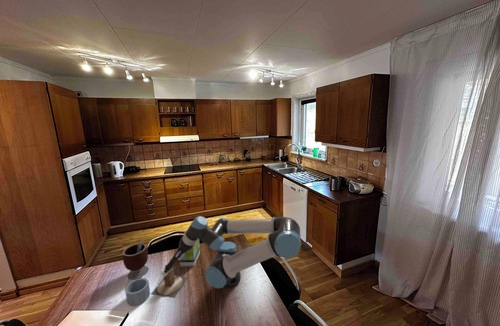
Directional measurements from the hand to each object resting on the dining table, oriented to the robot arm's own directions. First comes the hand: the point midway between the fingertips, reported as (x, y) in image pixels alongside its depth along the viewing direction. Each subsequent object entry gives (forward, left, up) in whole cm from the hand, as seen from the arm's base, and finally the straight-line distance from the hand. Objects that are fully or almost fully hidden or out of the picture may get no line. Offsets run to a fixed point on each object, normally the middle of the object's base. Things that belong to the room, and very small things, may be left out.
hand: (171, 266), depth 115 cm
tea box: (+3, -26, -16) cm, 31 cm away
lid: (+4, -2, -15) cm, 15 cm away
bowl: (+16, +9, -15) cm, 24 cm away
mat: (+4, -2, -15) cm, 16 cm away
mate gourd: (+31, -9, -16) cm, 36 cm away
